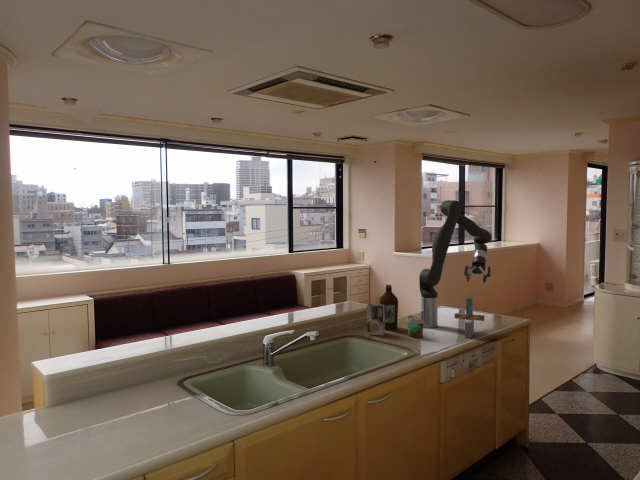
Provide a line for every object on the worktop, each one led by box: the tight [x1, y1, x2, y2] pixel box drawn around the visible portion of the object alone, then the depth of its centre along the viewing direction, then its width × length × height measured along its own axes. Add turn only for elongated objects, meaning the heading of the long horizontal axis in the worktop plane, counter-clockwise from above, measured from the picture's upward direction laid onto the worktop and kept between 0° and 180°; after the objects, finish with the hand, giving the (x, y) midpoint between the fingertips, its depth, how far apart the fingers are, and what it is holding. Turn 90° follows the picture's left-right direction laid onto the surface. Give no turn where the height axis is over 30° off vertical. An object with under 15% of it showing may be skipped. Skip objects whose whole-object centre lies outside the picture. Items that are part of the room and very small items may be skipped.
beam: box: [454, 296, 485, 322], centre depth 257 cm, size 15×3×11 cm, turn 63°
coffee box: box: [366, 303, 386, 336], centre depth 265 cm, size 9×6×16 cm
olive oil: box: [378, 284, 399, 331], centre depth 275 cm, size 11×11×25 cm
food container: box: [405, 315, 424, 339], centre depth 258 cm, size 12×6×10 cm, turn 21°
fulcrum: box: [464, 319, 475, 339], centre depth 257 cm, size 3×10×9 cm, turn 153°
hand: (475, 281), depth 274 cm, fingers open, 8 cm apart
